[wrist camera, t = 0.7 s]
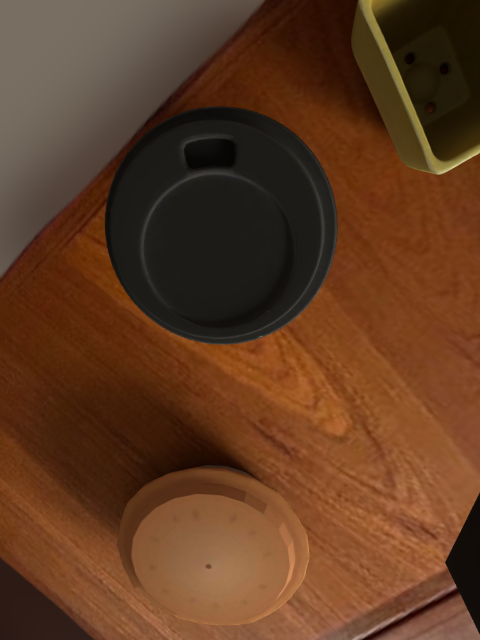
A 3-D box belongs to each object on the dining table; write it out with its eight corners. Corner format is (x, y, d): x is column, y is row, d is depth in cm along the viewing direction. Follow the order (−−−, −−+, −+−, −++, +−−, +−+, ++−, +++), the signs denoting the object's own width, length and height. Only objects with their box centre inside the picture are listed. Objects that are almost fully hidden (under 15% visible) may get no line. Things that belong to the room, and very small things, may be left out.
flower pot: (513, 113, 27) (629, 71, 18) (385, 185, 28) (435, 178, 20) (459, -26, 25) (560, -148, 16) (326, 59, 26) (353, -9, 18)
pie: (295, 434, 34) (300, 472, 29) (312, 584, 38) (318, 639, 33) (114, 448, 36) (90, 487, 31) (149, 591, 40) (132, 645, 35)
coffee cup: (266, 119, 28) (262, 32, 13) (332, 243, 30) (391, 283, 15) (151, 195, 30) (37, 190, 15) (220, 307, 31) (177, 397, 17)
